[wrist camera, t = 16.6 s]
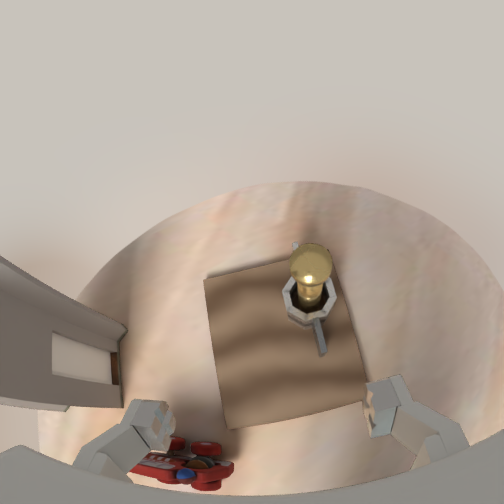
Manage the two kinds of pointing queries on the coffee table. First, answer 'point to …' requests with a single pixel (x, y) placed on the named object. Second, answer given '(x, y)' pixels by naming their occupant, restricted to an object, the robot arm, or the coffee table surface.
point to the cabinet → (54, 348)
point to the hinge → (310, 319)
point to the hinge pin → (310, 274)
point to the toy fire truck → (187, 466)
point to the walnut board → (277, 350)
